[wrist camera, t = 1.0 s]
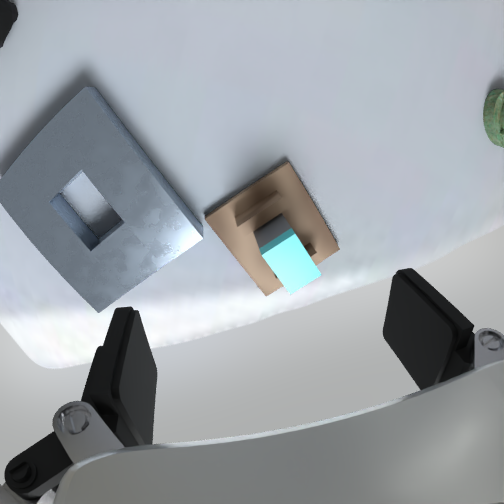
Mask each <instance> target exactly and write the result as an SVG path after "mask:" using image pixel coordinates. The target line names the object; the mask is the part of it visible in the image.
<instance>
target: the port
mask: <svg viewBox="0 0 504 504" xmlns="http://www.w3.org/2000/svg"><path fill="white" fill-rule="evenodd" d="M82 172H84V173H85V174H86V176H87V177H88V178H89V179H90V181H91V182H92V183H93V184H94V186H95V187H96V188H97V189H98V191H99V192H100V193H101V194H102V196H103V197H104V198H105V199H106V200H107V202H108V203H109V204H110V205H111V207H112V208H113V209H114V210H115V211H116V213H117V214H118V215H119V216H120V217H121V219H122V220H121V221H120V222H119V223H117V224H116V225H115V226H114V227H113V228H111V229H110V230H109V231H108V232H107V233H106V234H104V235H103V236H102V237H101V238H100V239H98V238H97V237H96V236H95V235H94V234H93V232H92V231H91V230H90V229H89V228H88V227H87V225H86V224H85V223H84V222H83V221H82V220H81V218H80V217H79V216H78V215H77V214H76V212H75V211H74V210H73V209H72V208H71V206H70V205H69V204H68V203H67V201H66V200H65V199H64V198H63V196H62V195H61V194H60V193H61V192H62V191H63V190H64V189H65V188H66V187H67V186H68V185H69V184H70V183H71V182H72V181H73V180H74V179H75V178H76V177H77V176H78V175H79V174H81V173H82ZM0 203H1V204H2V206H3V207H4V208H5V210H6V211H7V212H8V214H9V215H10V216H11V217H12V219H13V220H14V221H15V222H16V224H17V225H18V226H19V227H20V229H21V230H22V231H23V232H24V234H25V235H26V236H27V237H28V238H29V240H30V241H31V242H32V243H33V244H34V245H35V247H36V248H37V249H38V250H39V251H40V252H41V254H42V255H43V256H44V257H45V258H46V259H47V260H48V261H49V263H50V264H51V265H52V266H53V267H54V268H55V269H56V270H57V271H58V272H59V273H60V275H61V276H62V277H63V278H64V279H65V280H66V281H67V282H68V283H69V284H70V285H71V286H72V287H73V288H74V289H75V290H76V291H77V292H78V293H79V294H80V295H81V296H82V297H83V298H84V299H85V300H86V301H87V302H88V303H89V304H90V305H91V306H92V307H93V308H94V309H95V310H96V311H97V312H98V313H100V312H101V311H102V310H104V309H105V308H106V307H108V306H109V305H110V304H112V303H113V302H114V301H116V300H117V299H119V298H120V297H121V296H123V295H124V294H125V293H127V292H128V291H130V290H131V289H132V288H134V287H135V286H136V285H138V284H139V283H141V282H142V281H143V280H145V279H146V278H148V277H149V276H150V275H152V274H153V273H155V272H156V271H157V270H159V269H160V268H162V267H163V266H164V265H166V264H167V263H169V262H170V261H171V260H173V259H174V258H176V257H177V256H179V255H180V254H181V253H183V252H184V251H186V250H187V249H189V248H190V247H191V246H193V245H194V244H196V243H197V242H199V241H200V240H202V239H203V226H202V225H201V224H200V223H199V221H198V220H197V219H196V218H195V216H194V215H193V214H192V212H191V211H190V210H189V209H188V207H187V206H186V205H185V204H184V202H183V201H182V200H181V199H180V197H179V196H178V195H177V193H176V192H175V191H174V190H173V188H172V187H171V186H170V185H169V183H168V182H167V181H166V179H165V178H164V177H163V176H162V174H161V173H160V172H159V170H158V169H157V168H156V167H155V165H154V164H153V163H152V161H151V160H150V159H149V158H148V156H147V155H146V154H145V152H144V151H143V150H142V148H141V147H140V146H139V145H138V143H137V142H136V141H135V139H134V138H133V137H132V135H131V134H130V133H129V132H128V130H127V129H126V128H125V126H124V125H123V124H122V122H121V121H120V120H119V118H118V117H117V116H116V114H115V113H114V112H113V110H112V109H111V108H110V106H109V105H108V104H107V102H106V101H105V100H104V98H103V97H102V96H101V94H100V93H99V92H98V90H97V89H96V88H95V87H84V88H83V89H82V90H81V91H80V92H79V93H78V94H77V95H76V96H75V97H73V98H72V99H71V100H70V101H69V102H68V103H67V104H66V105H65V106H64V107H63V108H62V109H61V110H60V111H59V112H58V113H57V114H56V115H55V116H54V117H53V118H52V119H51V120H50V121H49V122H48V124H47V125H46V126H45V127H44V128H43V129H42V130H41V131H40V132H39V133H38V134H37V135H36V137H35V138H34V139H33V140H32V141H31V142H30V143H29V145H28V146H27V147H26V148H25V149H24V150H23V152H22V153H21V154H20V155H19V156H18V158H17V159H16V160H15V161H14V163H13V164H12V165H11V166H10V168H9V169H8V170H7V171H6V173H5V174H4V175H3V177H2V178H1V179H0Z"/></svg>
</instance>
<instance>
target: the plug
mask: <svg viewBox="0 0 504 504" xmlns="http://www.w3.org/2000/svg"><path fill="white" fill-rule="evenodd" d="M253 233H254V236H255V239H256V241H257V244H258V247H259V250H260V252H261V255H262V257H263V258H264V259H265V261H266V262H267V263H268V265H269V266H270V267H271V269H272V270H273V271H274V273H275V274H276V276H277V277H278V278H279V280H280V281H281V282H282V284H283V285H284V286H285V288H286V289H287V290H288V292H289V293H290V294H292V293H294V292H295V291H297V290H298V289H300V288H302V287H303V286H305V285H306V284H308V283H309V282H311V281H313V280H314V279H316V278H317V277H319V276H320V275H321V273H320V272H319V270H318V269H317V267H316V265H315V264H314V262H313V261H312V259H311V257H310V256H309V254H308V253H307V251H306V250H305V248H304V246H303V245H302V243H301V242H300V240H299V239H298V237H297V236H296V234H295V233H294V231H293V229H292V228H291V226H290V225H289V223H288V222H287V220H286V219H285V217H284V216H283V214H282V213H281V214H279V215H277V216H276V217H274V218H273V219H271V220H270V221H268V222H267V223H265V224H264V225H262V226H261V227H259V228H258V229H256V230H255V231H253Z"/></svg>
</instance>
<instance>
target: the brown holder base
mask: <svg viewBox="0 0 504 504" xmlns="http://www.w3.org/2000/svg"><path fill="white" fill-rule="evenodd" d="M281 213H282V214H283V216H284V217H285V219H286V220H287V222H288V223H289V225H290V226H291V228H292V229H293V231H294V233H295V234H296V236H297V237H298V239H299V240H300V242H301V243H302V245H303V246H304V248H305V250H306V251H307V253H308V254H309V256H310V257H311V259H312V261H313V262H314V264H315V265H317V264H319V263H321V262H322V261H323V260H324V259H326V258H328V257H329V256H331V255H332V254H334V253H335V252H337V251H338V250H340V248H339V247H338V245H337V243H336V241H335V239H334V238H333V236H332V234H331V232H330V231H329V229H328V227H327V225H326V224H325V222H324V220H323V218H322V217H321V215H320V213H319V212H318V210H317V208H316V206H315V205H314V203H313V201H312V200H311V198H310V196H309V195H308V193H307V191H306V190H305V188H304V186H303V185H302V183H301V181H300V180H299V178H298V176H297V175H296V173H295V172H294V170H293V168H292V167H291V165H290V163H289V162H285V163H284V164H282V165H281V166H279V167H278V168H276V169H274V170H273V171H271V172H270V173H268V174H267V175H265V176H264V177H262V178H261V179H259V180H258V181H256V182H255V183H253V184H252V185H250V186H249V187H247V188H246V189H244V190H243V191H241V192H240V193H238V194H237V195H235V196H234V197H232V198H231V199H229V200H228V201H226V202H225V203H223V204H222V205H221V206H219V207H218V208H216V209H215V210H213V211H212V212H210V213H209V214H208V215H206V216H205V220H206V221H207V223H208V224H209V225H210V226H211V228H212V229H213V230H214V232H215V233H216V234H217V235H218V237H219V238H220V239H221V240H222V242H223V243H224V244H225V245H226V247H227V248H228V249H229V251H230V252H231V253H232V254H233V256H234V257H235V258H236V259H237V261H238V262H239V263H240V264H241V266H242V267H243V268H244V269H245V271H246V272H247V273H248V274H249V276H250V277H251V278H252V279H253V281H254V282H255V283H256V284H257V286H258V287H259V288H260V289H261V291H262V292H263V293H264V294H265V296H268V295H269V294H271V293H272V292H274V291H276V290H277V289H279V288H280V287H283V286H284V285H283V284H282V282H281V281H280V280H279V278H278V277H277V276H276V274H275V273H274V271H273V270H272V269H271V267H270V266H269V265H268V263H267V262H266V261H265V259H264V258H263V257H262V255H261V252H260V250H259V247H258V244H257V241H256V239H255V236H254V233H253V231H255V230H256V229H258V228H259V227H261V226H262V225H264V224H265V223H267V222H268V221H270V220H271V219H273V218H274V217H276V216H277V215H279V214H281Z"/></svg>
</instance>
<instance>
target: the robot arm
mask: <svg viewBox="0 0 504 504" xmlns="http://www.w3.org/2000/svg"><path fill="white" fill-rule="evenodd" d="M473 328H474V325H473V324H472V323H471V322H470V321H469V320H468V319H467V318H466V317H465V316H464V315H463V314H462V313H461V312H460V311H459V310H458V309H457V308H455V307H454V306H453V305H452V304H451V303H450V302H449V301H448V300H447V299H446V298H445V297H444V296H443V295H441V294H440V293H439V292H438V291H437V290H436V289H435V288H434V287H433V286H431V285H430V284H429V283H428V282H427V281H426V280H425V279H424V278H423V277H421V276H420V275H419V274H418V273H417V272H416V271H415V270H414V269H412V268H408V269H402V270H398V271H397V272H396V274H395V275H394V276H393V279H392V284H391V290H390V296H389V301H388V307H387V312H386V317H385V322H384V327H383V336H384V339H385V340H386V342H387V343H388V344H389V346H390V347H391V349H392V350H393V351H394V353H395V354H396V355H397V357H398V358H399V360H400V361H401V363H402V364H403V365H404V367H405V368H406V370H407V371H408V373H409V374H410V375H411V377H412V378H413V380H414V381H415V383H416V384H417V385H418V387H419V388H420V391H418V392H415V393H412V394H410V395H406V396H403V397H401V398H398V399H395V400H392V401H388V402H385V403H382V404H379V405H376V406H373V407H369V408H366V409H362V410H359V411H355V412H352V413H348V414H344V415H341V416H337V417H333V418H329V419H325V420H321V421H316V422H312V423H308V424H303V425H298V426H293V427H289V428H283V429H278V430H272V431H267V432H261V433H254V434H248V435H241V436H233V437H225V438H217V439H208V440H200V441H189V442H177V443H163V444H154V445H153V444H152V440H153V423H154V409H155V394H156V384H157V368H156V364H155V361H154V359H153V356H152V352H151V349H150V346H149V343H148V340H147V337H146V334H145V331H144V327H143V324H142V321H141V317H140V314H139V311H138V310H133V308H132V307H121V308H116V309H115V311H114V314H113V317H112V320H111V323H110V326H109V329H108V332H107V335H106V338H105V341H104V344H103V346H99V347H98V348H97V350H96V353H95V356H94V359H93V362H92V365H91V368H90V372H89V375H88V378H87V382H86V385H85V388H84V392H83V396H82V399H81V401H74V402H69V403H67V404H65V405H64V406H62V407H61V408H59V409H58V411H57V412H56V413H55V415H54V418H53V428H54V432H52V433H51V434H49V435H48V436H46V437H45V438H43V439H42V440H40V441H39V442H37V443H36V444H34V445H33V446H31V447H29V448H28V449H27V450H25V451H23V452H22V453H20V454H19V455H17V456H16V457H15V458H13V459H12V460H11V461H10V462H9V463H8V465H7V466H6V469H5V481H6V482H5V483H4V484H3V486H2V485H1V484H0V504H504V335H503V334H501V333H500V332H498V331H497V330H494V329H491V328H483V329H480V330H478V331H477V332H476V333H475V334H474V333H473V332H472V331H473Z"/></svg>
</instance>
